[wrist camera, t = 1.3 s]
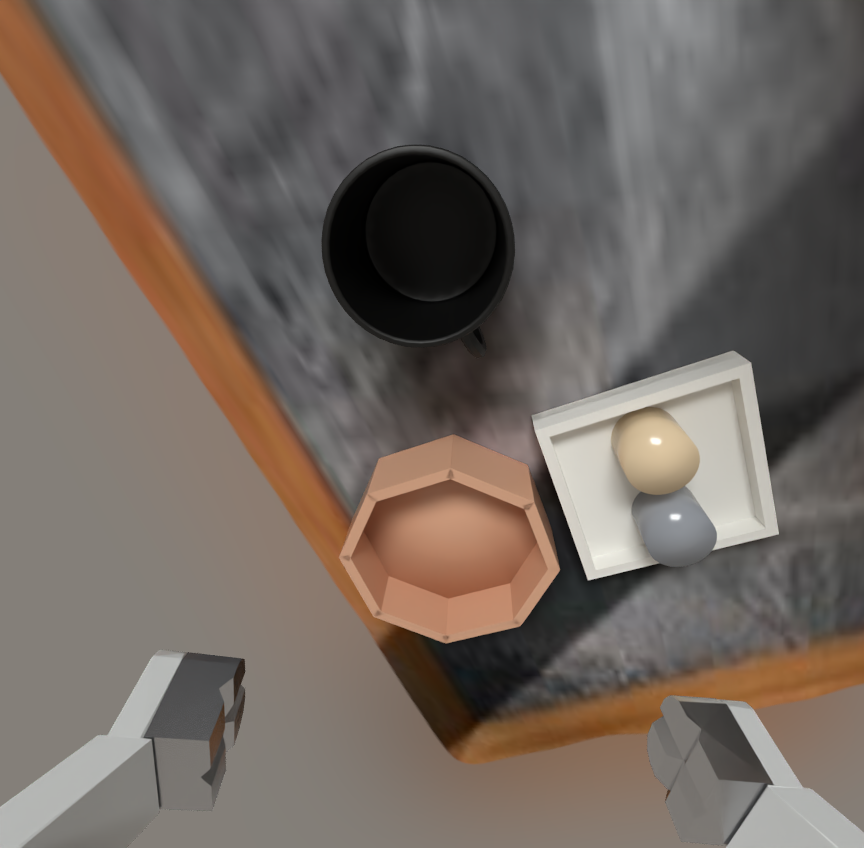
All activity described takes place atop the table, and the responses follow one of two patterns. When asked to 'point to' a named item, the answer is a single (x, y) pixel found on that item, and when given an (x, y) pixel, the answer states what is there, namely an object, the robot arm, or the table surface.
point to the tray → (711, 486)
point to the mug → (419, 247)
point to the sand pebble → (654, 451)
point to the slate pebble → (674, 527)
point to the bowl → (450, 541)
